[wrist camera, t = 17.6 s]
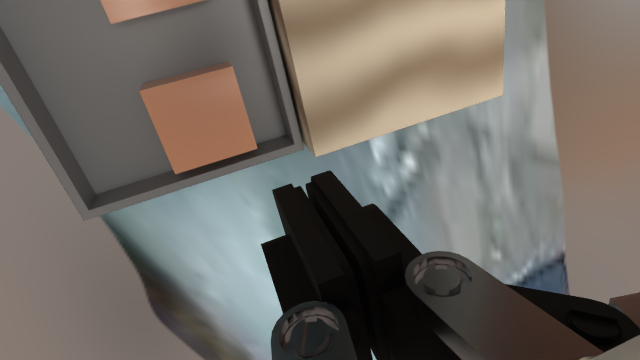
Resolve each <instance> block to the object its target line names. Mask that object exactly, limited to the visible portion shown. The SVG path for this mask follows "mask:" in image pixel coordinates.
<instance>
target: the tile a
mask: <svg viewBox="0 0 640 360" xmlns="http://www.w3.org/2000/svg"><path fill="white" fill-rule="evenodd" d="M100 1H101V3H102V5H103V7H104V10H105V12H106V14H107V16H108V18H109V21H110V23H111V24H113V23H117V22H121V21H125V20H129V19H133V18H137V17H141V16H145V15H149V14H153V13H157V12H160V11H164V10H168V9H172V8H176V7H180V6H184V5H188V4H192V3H196V2H200V1H204V0H100Z"/></svg>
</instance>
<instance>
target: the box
mask: <svg viewBox="0 0 640 360" xmlns="http://www.w3.org/2000/svg"><path fill="white" fill-rule="evenodd" d="M228 61H229V62H230V64H231V65H232V66H233V69H234V73H235V76H236V79H237V82H238V86H239V89H240V92H241V96H242V99H243V102H244V105H245V109H246V112H247V115H248V119H249V122H250V125H251V128H252V132H253V135H254V138H255V142H256V145H257V148H258V149H255V150H252V151H249V152H245V153H242V154H239V155H236V156H233V157H229V158H226V159H223V160H220V161H217V162H213V163H210V164H207V165H204V166H201V167H197V168H194V169H191V170H188V171H185V172H181V173H178V174H175V173H174V170H173V168H172V166H171V164H170V161H169V159H168V157H167V154H166V152H165V150H164V147H163V145H162V143H161V140H160V138H159V136H158V133H157V131H156V129H155V127H154V124H153V122H152V120H151V117H150V115H149V113H148V110H147V108H146V106H145V103H144V101H143V99H142V97H141V94H140V92H139V90H140V88H141V86H142V84H144V83H148V82H152V81H156V80H160V79H163V78H167V77H171V76H175V75H179V74H182V73H186V72H190V71H194V70H198V69H201V68H205V67H209V66H213V65H217V64H220V63H224V62H228ZM0 84H1V86H2V87H3V89H4V91H5V92H6V94H7V96H8V97H9V99H10V101H11V102H12V104H13V105H14V107H15V109H16V110H17V112H18V114H19V115H20V117H21V119H22V120H23V122H24V123H25V125H26V127H27V128H28V130H29V132H30V133H31V135H32V137H33V138H34V140H35V142H36V143H37V145H38V146H39V148H40V150H41V151H42V153H43V155H44V156H45V158H46V159H47V161H48V163H49V164H50V166H51V168H52V169H53V171H54V173H55V174H56V176H57V177H58V179H59V181H60V183H61V184H62V186H63V187H64V189H65V191H66V192H67V194H68V195H69V197H70V199H71V200H72V202H73V204H74V205H75V207H76V209H77V210H78V212H79V214H80V215H81V217H82V219H83V220H84V221H85V220H87V219H91V218H94V217H97V216H100V215H103V214H106V213H109V212H112V211H115V210H118V209H122V208H125V207H128V206H131V205H134V204H137V203H140V202H143V201H146V200H149V199H152V198H155V197H158V196H162V195H165V194H168V193H171V192H174V191H177V190H180V189H183V188H186V187H189V186H192V185H195V184H198V183H202V182H205V181H208V180H211V179H214V178H217V177H220V176H223V175H226V174H229V173H232V172H235V171H238V170H242V169H245V168H248V167H251V166H254V165H257V164H260V163H263V162H266V161H269V160H272V159H275V158H278V157H282V156H285V155H288V154H291V153H294V152H297V151H300V150H303V149H304V148H303V143H302V139H301V135H300V131H299V127H298V123H297V119H296V115H295V111H294V107H293V103H292V99H291V95H290V91H289V87H288V83H287V79H286V74H285V70H284V66H283V62H282V58H281V54H280V50H279V46H278V42H277V38H276V34H275V30H274V26H273V22H272V18H271V14H270V9H269V5H268V1H267V0H204V1H200V2H196V3H192V4H188V5H184V6H180V7H176V8H172V9H168V10H164V11H160V12H157V13H153V14H149V15H145V16H141V17H137V18H133V19H129V20H125V21H121V22H117V23H113V24H111V23H110V21H109V18H108V16H107V14H106V12H105V10H104V7H103V5H102V3H101V1H100V0H0Z"/></svg>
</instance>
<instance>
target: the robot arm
mask: <svg viewBox="0 0 640 360" xmlns="http://www.w3.org/2000/svg"><path fill="white" fill-rule="evenodd" d="M306 190H307V194H308V197H307V195H306V194H305V192H304V191H303V189H302V187H301V186H298V187H295V188H294V187H293V185H292V184H288V185H285V186H282V187H279V188H276V189H273V190H272V191H273V195H274V199H275V202H276V205H277V208H278V212H279V215H280V218H281V221H282V225H283V228H284V231H285V234H286V235H285V236H282V237H279V238H276V239H274V240H271V241H268V242H265V243H263V244H261V246H262V249H263V252H264V255H265V258H266V261H267V264H268V268H269V271H270V274H271V277H272V280H273V283H274V286H275V289H276V293H277V296H278V299H279V302H280V305H281V308H282V311H283V315H282V316H281V317H280V318H279V320H278V321H277V322H276V324H275V326H274V328H273V331H272V337H271V350H272V360H373V359H372V354H371V350H372V352H373V354H374V355H375V357H376V359H377V360H640V292H639V293H635V294H629V295H624V296H619V297H615V298H610V301H609V304H608V305H607V304H605V303H602V302H599V301H595V300H592V299H587V298H582V297H576V296H570V295H564V294H559V293H553V292H547V291H542V290H536V289H530V288H524V287H519V286H513V285H507V284H504V283H502V282H501V281H499V280H498V279H497V278H495V277H494V276H492V275H491V274H489V273H488V272H486V271H485V270H483V269H482V268H481V267H479V266H478V265H476V264H475V263H473V262H472V261H470V260H469V259H467V258H465V257H463V256H461V255H459V254H456V253H452V252H445V251H435V252H428V253H425V254H423V255H422V253H421V252H420V251H419V250H418V249H417V248H416V247H415V246H414V245H413V244H412V243H411V242H410V241H409V240H408V239H407V238H406V236H405V235H404V234H403V233H402V232H401V231H400V230H399V229H398V228H397V227H396V226H395V225H394V224H393V223H392V222H391V221H390V219H389V218H388V217H387V216H386V215H385V214H384V213H383V212H382V211H381V210H380V209H379V208H378V207H377V206H376V205H375V204H369V205H367V206H364V207H362V206H361V205H360V204H359V203H358V202H357V200H356V199H355V198H354V197H353V196H352V195H351V194H350V192H349V191H348V190H347V189H346V188H345V187H344V185H343V184H342V183H341V182H340V181H339V180H338V179H337V177H336V176H335V175H334V174H333V173H332V172H331V171H326V172H324V173H321V174H318V175H315V176H312V177H311V182H310V183H307V184H306ZM370 348H371V349H370Z"/></svg>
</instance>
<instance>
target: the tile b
mask: <svg viewBox="0 0 640 360" xmlns="http://www.w3.org/2000/svg"><path fill="white" fill-rule="evenodd" d="M139 92H140V94H141V97H142V99H143V101H144V103H145V106H146V108H147V110H148V113H149V115H150V117H151V120H152V122H153V124H154V127H155V129H156V131H157V133H158V136H159V138H160V140H161V143H162V145H163V147H164V150H165V152H166V154H167V157H168V159H169V161H170V164H171V166H172V168H173V170H174V173H175V174H178V173H181V172H185V171H188V170H191V169H194V168H197V167H201V166H204V165H207V164H210V163H213V162H217V161H220V160H223V159H226V158H229V157H233V156H236V155H239V154H242V153H245V152H249V151H252V150H255V149H258V148H257V145H256V142H255V138H254V135H253V132H252V128H251V125H250V122H249V119H248V115H247V112H246V109H245V105H244V102H243V99H242V96H241V92H240V89H239V86H238V82H237V79H236V76H235V73H234V69H233V66H232V65H231V64H230V62H229V61H228V62H224V63H220V64H217V65H213V66H209V67H205V68H201V69H198V70H194V71H190V72H186V73H182V74H179V75H175V76H171V77H167V78H163V79H160V80H156V81H152V82H148V83H144V84H142V86H141V88H140V90H139Z"/></svg>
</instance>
